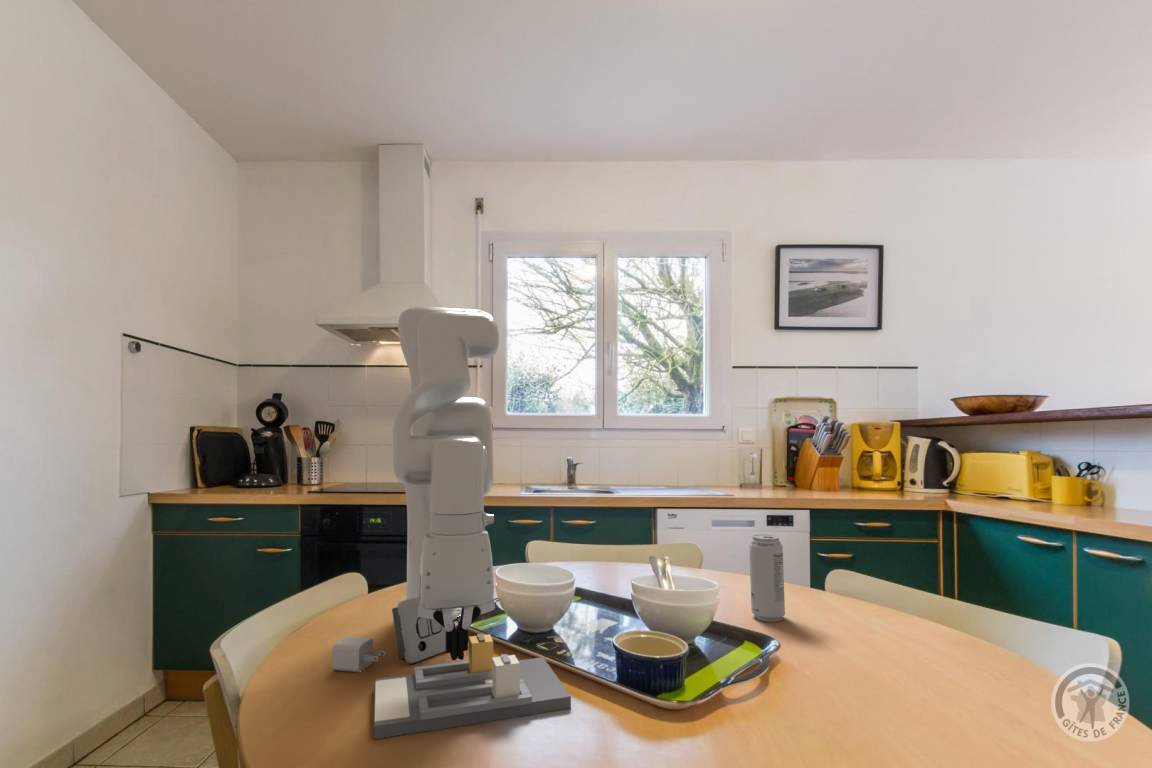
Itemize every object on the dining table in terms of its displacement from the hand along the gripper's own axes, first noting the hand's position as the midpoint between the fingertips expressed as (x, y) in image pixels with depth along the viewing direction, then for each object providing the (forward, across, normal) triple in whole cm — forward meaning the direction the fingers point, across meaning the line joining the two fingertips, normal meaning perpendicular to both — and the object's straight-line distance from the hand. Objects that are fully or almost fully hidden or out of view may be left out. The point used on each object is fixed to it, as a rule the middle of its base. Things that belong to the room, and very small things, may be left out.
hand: (456, 656), depth 85 cm
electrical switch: (+4, +4, -14) cm, 16 cm away
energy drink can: (+4, -59, -12) cm, 60 cm away
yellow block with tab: (+3, -3, 0) cm, 4 cm away
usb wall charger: (+4, +13, -11) cm, 18 cm away
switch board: (+4, -1, +4) cm, 6 cm away
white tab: (+3, -5, +9) cm, 11 cm away
